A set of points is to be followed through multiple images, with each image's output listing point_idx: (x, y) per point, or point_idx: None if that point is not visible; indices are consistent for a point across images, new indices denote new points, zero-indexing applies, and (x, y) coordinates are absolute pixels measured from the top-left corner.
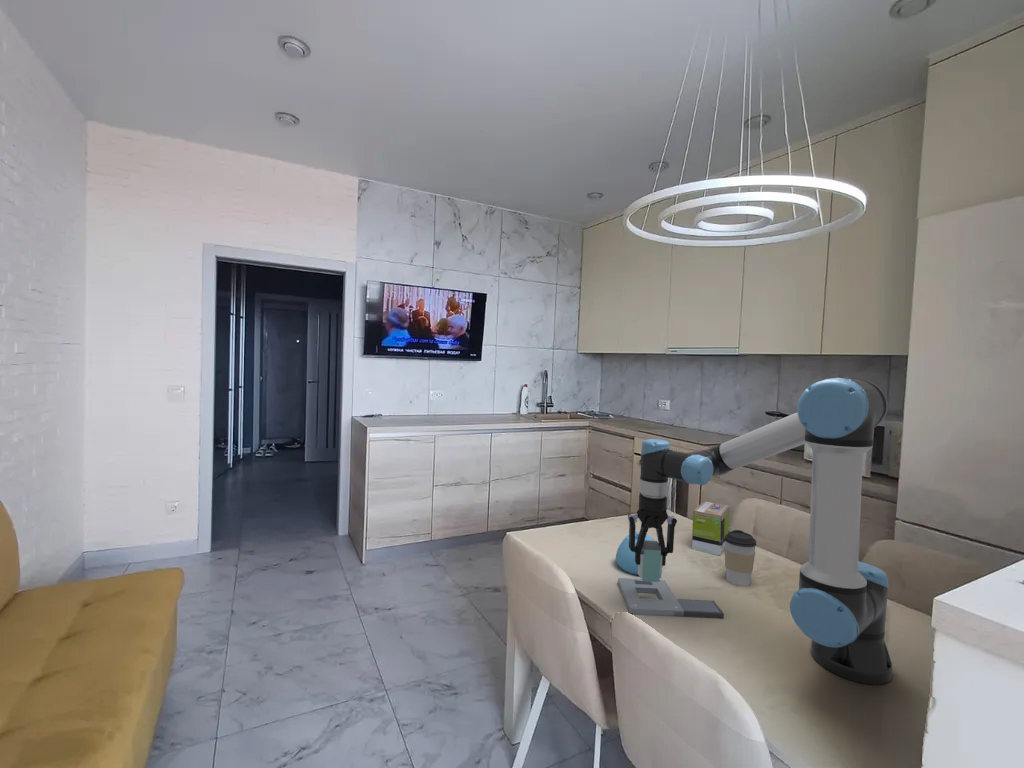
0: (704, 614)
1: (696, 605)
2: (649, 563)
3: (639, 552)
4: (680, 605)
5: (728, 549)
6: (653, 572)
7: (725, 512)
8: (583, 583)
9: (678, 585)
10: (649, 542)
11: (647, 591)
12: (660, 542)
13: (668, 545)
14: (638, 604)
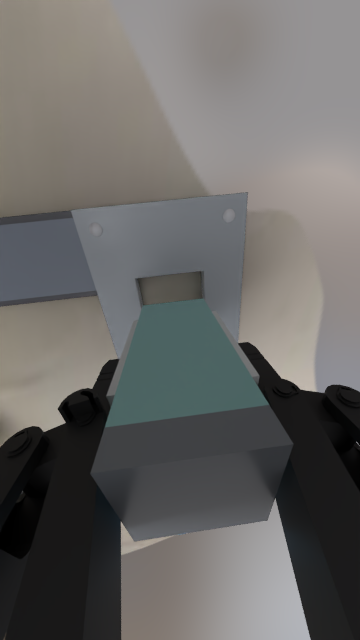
0: (6, 218)
1: (34, 264)
2: (193, 338)
3: (280, 386)
4: (84, 254)
5: None
6: (166, 318)
7: None
8: (311, 339)
9: (95, 376)
10: (206, 511)
11: None
12: (85, 555)
13: (35, 508)
14: (215, 227)
